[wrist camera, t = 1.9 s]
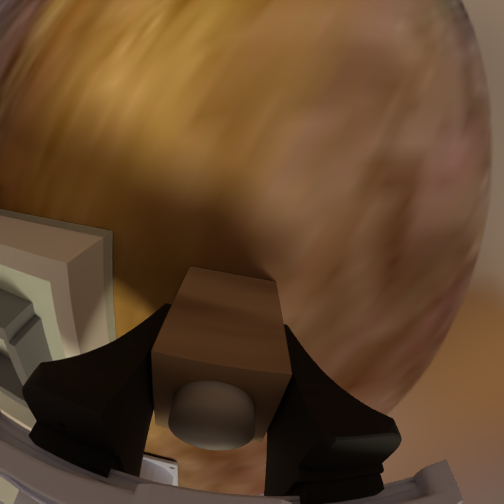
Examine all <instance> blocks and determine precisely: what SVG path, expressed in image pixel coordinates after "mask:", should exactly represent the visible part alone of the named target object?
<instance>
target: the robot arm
mask: <svg viewBox="0 0 504 504" xmlns="http://www.w3.org/2000/svg"><path fill="white" fill-rule="evenodd" d="M171 306H172V305H171V304H167V303H166V304H165V305H163V306H162V307H161V308H160V309H158V310H157V311H156V312H155V313H153V314H152V315H151V316H150V317H149V318H147V319H146V320H145V321H143V322H142V323H141V324H139V325H138V326H137V327H135V328H134V329H132V330H131V331H129V332H128V333H126V334H125V335H123V336H121V337H120V338H118V339H116V340H114V341H112V342H110V343H108V344H106V345H104V346H101V347H99V348H97V349H94V350H92V351H89V352H86V353H83V354H80V355H77V356H73V357H69V358H65V359H60V360H54V361H48V362H41V363H40V364H39V365H38V366H37V368H36V369H35V370H34V371H33V373H32V374H31V376H30V377H29V378H28V380H27V381H26V383H25V384H24V385H23V387H22V394H23V397H24V399H25V402H26V403H27V405H28V407H29V409H30V411H31V412H32V414H33V416H34V417H35V419H36V423H35V425H34V426H33V428H32V430H31V431H29V430H28V429H26V428H24V427H23V426H21V425H20V424H18V423H16V422H15V421H13V420H12V419H10V418H9V417H7V416H6V415H4V414H3V413H1V410H0V476H1V477H2V478H4V479H5V480H6V481H8V482H9V483H10V484H12V485H13V486H15V487H16V488H17V489H19V490H20V491H22V492H23V493H25V494H26V495H28V496H29V497H31V498H33V499H34V500H36V501H37V502H39V503H41V504H460V503H462V502H463V500H464V499H463V497H462V494H461V492H460V490H459V487H458V485H457V482H456V480H455V478H454V475H453V473H452V471H451V469H450V466H449V464H448V462H447V460H443V461H441V462H437V463H435V464H432V465H429V466H427V467H425V468H423V469H421V470H420V471H419V472H418V473H416V474H415V476H413V477H410V478H406V479H403V480H399V481H395V482H391V483H387V484H383V482H382V478H381V475H380V473H382V472H383V471H384V469H383V465H382V463H383V462H384V461H385V460H386V459H387V458H388V457H389V456H390V455H391V454H392V453H393V452H394V451H395V450H396V449H397V448H398V447H399V445H400V443H401V435H400V433H399V430H398V428H397V426H396V423H395V421H394V419H393V418H391V417H388V416H386V415H384V414H382V413H380V412H378V411H376V410H374V409H372V408H370V407H369V406H367V405H365V404H363V403H362V402H360V401H359V400H357V399H356V398H354V397H353V396H351V395H350V394H349V393H347V392H346V391H345V390H343V389H342V388H341V387H340V386H338V385H337V384H336V383H335V382H334V381H333V380H332V379H331V378H330V377H328V376H327V375H326V374H325V373H324V372H323V371H322V370H321V369H320V367H319V366H318V365H317V364H316V363H315V362H314V361H313V359H312V358H311V357H310V356H309V355H308V353H307V352H306V351H305V349H304V348H303V347H302V345H301V344H300V343H299V341H298V340H297V338H296V337H295V336H294V334H293V333H292V331H291V330H290V328H289V327H288V326H287V325H285V324H284V329H285V335H286V341H287V346H288V352H289V358H290V364H291V370H292V376H291V378H290V381H289V383H288V385H287V388H286V390H285V392H284V395H283V397H282V399H281V401H280V404H279V406H278V408H277V410H276V412H275V415H274V417H273V419H272V421H271V423H270V425H269V427H268V429H267V461H266V478H265V490H264V496H256V495H239V494H227V493H218V492H210V491H203V490H196V489H190V488H185V487H179V486H178V464H177V463H176V462H174V461H170V460H165V459H161V458H157V457H153V456H149V455H145V454H144V449H145V444H146V440H147V435H148V431H149V426H150V422H151V418H152V414H153V410H154V400H153V384H152V358H151V350H152V348H153V346H154V343H155V341H156V339H157V337H158V334H159V332H160V330H161V328H162V325H163V323H164V321H165V319H166V317H167V314H168V312H169V310H170V308H171Z"/></svg>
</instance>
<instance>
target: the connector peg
mask: <svg viewBox="0 0 504 504" xmlns="http://www.w3.org/2000/svg"><path fill="white" fill-rule="evenodd" d="M151 358H152V384H153V400H154V413H155V424H156V425H157V426H161V427H166V428H170V430H171V431H172V433H173V434H174V435H175V436H176V437H178V438H179V439H181V440H182V441H184V442H186V443H188V444H190V445H193V446H196V447H200V448H204V449H210V450H229V449H235V448H238V447H241V446H244V445H246V444H247V443H249V442H250V441H255V442H262V440H263V438H264V436H265V434H266V432H267V429H268V427H269V425H270V423H271V421H272V419H273V417H274V415H275V412H276V410H277V408H278V406H279V404H280V401H281V399H282V397H283V395H284V392H285V390H286V388H287V385H288V383H289V381H290V378H291V376H292V370H291V364H290V358H289V352H288V346H287V341H286V335H285V329H284V324H283V318H282V312H281V307H280V301H279V296H278V290H277V285H276V281H270V280H264V279H259V278H253V277H247V276H242V275H236V274H231V273H225V272H220V271H215V270H209V269H204V268H199V267H194V266H190V268H189V270H188V272H187V274H186V276H185V278H184V280H183V282H182V284H181V286H180V289H179V291H178V293H177V295H176V297H175V299H174V301H173V304H172V306H171V308H170V310H169V312H168V314H167V317H166V319H165V321H164V323H163V325H162V328H161V330H160V332H159V334H158V337H157V339H156V341H155V343H154V346H153V348H152V350H151Z"/></svg>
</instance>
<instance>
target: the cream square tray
mask: <svg viewBox="0 0 504 504" xmlns="http://www.w3.org/2000/svg"><path fill="white" fill-rule="evenodd" d="M112 243H113V231H111V230H106V229H101V228H95V227H90V226H85V225H80V224H75V223H69V222H64V221H59V220H54V219H49V218H44V217H39V216H34V215H28V214H23V213H18V212H13V211H8V210H3V209H0V410H1V413H3V414H4V415H6V416H7V417H9V418H10V419H12V420H13V421H15V422H16V423H18V424H20V425H21V426H23V427H24V428H26V429H28V430H29V431H31V430H32V428H33V426H34V425H35V423H36V419H35V417H34V416H33V414H32V412H31V411H30V409H29V407H28V405H27V403H26V402H25V399H24V397H23V394H22V387H23V385H24V384H25V383H26V381H27V380H28V378H29V377H30V376H31V374H32V373H33V371H34V370H35V369H36V368H37V366H38V365H39V364H40V363H41V362H48V361H54V360H60V359H65V358H69V357H73V356H77V355H80V354H83V353H86V352H89V351H92V350H94V349H97V348H99V347H101V346H104V345H106V344H108V343H110V342H112V341H114V340H116V330H115V318H114V302H113V276H112Z"/></svg>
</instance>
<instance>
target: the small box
mask: <svg viewBox="0 0 504 504" xmlns="http://www.w3.org/2000/svg"><path fill="white" fill-rule="evenodd" d="M18 491H19V489H17V488H16V487H15V486H13V485H12V484H10V483H9V482H8V481H6V480H5V479H4V478H2V477H1V476H0V500H1V501H2V502H4V503H5V504H13V503H14V501H15V498H16V496H17V493H18Z"/></svg>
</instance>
